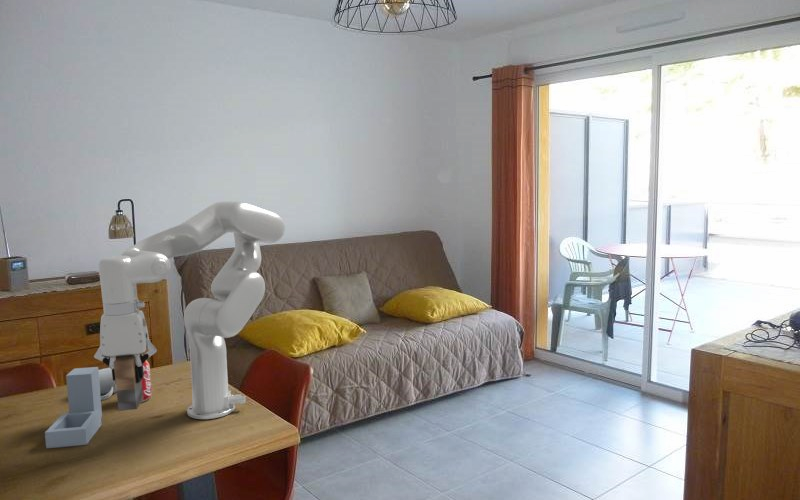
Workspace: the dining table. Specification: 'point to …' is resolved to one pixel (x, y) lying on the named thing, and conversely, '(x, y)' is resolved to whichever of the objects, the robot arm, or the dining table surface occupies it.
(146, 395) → the soda can
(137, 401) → the wooden rectangular block
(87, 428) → the blue stepped tray
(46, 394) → the dining table surface
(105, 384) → the ceramic mug
